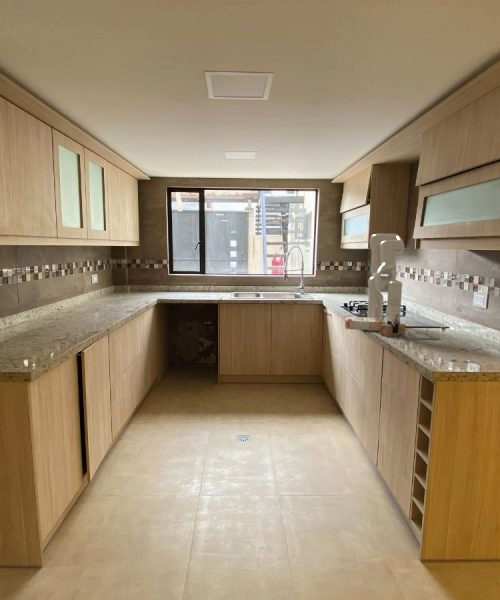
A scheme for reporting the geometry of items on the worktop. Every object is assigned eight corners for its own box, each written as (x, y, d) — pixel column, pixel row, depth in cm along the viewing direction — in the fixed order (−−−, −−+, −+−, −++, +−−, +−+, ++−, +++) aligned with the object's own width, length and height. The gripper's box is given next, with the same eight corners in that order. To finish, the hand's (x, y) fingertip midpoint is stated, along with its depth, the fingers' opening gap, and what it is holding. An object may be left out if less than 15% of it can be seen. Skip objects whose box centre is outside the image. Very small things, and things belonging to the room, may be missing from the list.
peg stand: (400, 335, 218) (401, 328, 218) (430, 335, 219) (430, 328, 219) (408, 339, 208) (409, 332, 208) (439, 339, 209) (440, 332, 209)
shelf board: (378, 334, 220) (379, 324, 220) (397, 332, 226) (397, 322, 225) (386, 336, 215) (386, 326, 214) (404, 334, 220) (405, 324, 219)
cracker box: (381, 321, 227) (345, 320, 231) (380, 331, 228) (345, 329, 232) (378, 317, 240) (344, 316, 245) (377, 326, 241) (344, 325, 246)
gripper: (381, 300, 226) (380, 328, 228) (394, 304, 209) (392, 335, 211) (393, 300, 227) (391, 328, 229) (407, 304, 209) (405, 335, 212)
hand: (392, 331), depth 220 cm, fingers closed on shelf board, 7 cm apart
